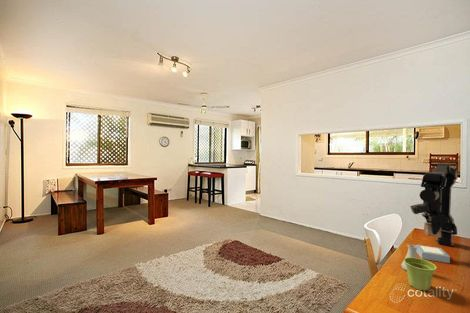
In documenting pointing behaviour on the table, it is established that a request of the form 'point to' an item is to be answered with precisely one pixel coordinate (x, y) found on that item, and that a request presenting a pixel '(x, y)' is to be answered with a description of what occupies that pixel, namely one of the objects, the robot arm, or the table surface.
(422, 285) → the plant pot
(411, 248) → the flask
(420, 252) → the plinth
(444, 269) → the table surface
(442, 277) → the table surface
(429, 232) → the walnut block
